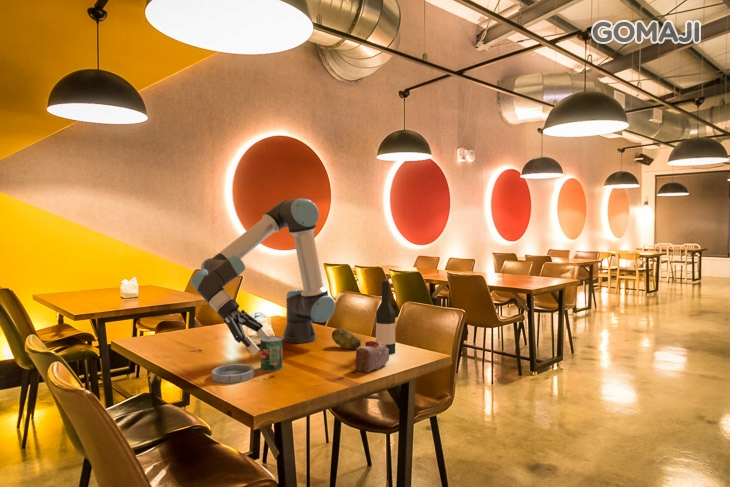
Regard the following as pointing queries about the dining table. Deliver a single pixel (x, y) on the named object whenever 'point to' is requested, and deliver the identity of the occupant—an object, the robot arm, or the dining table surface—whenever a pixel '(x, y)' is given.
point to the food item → (371, 356)
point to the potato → (345, 339)
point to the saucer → (233, 373)
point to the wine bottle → (386, 320)
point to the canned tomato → (271, 353)
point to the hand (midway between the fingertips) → (264, 347)
